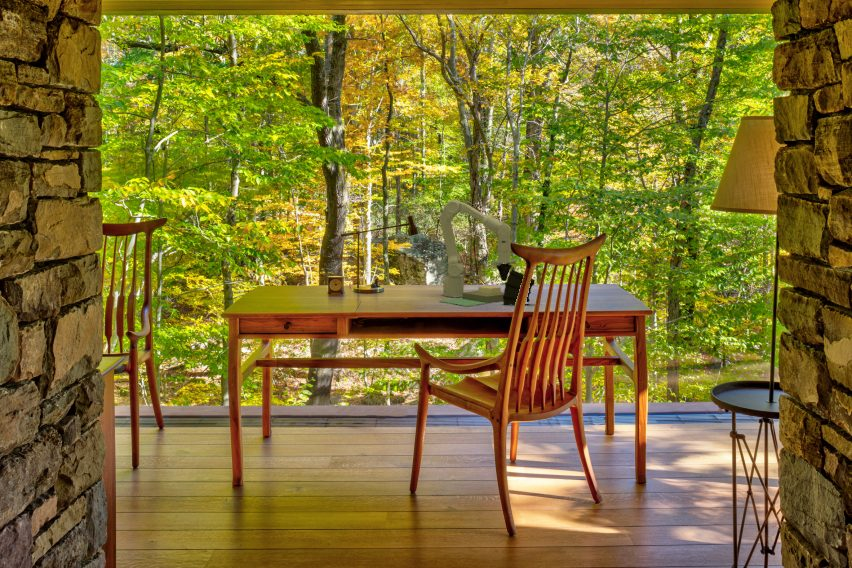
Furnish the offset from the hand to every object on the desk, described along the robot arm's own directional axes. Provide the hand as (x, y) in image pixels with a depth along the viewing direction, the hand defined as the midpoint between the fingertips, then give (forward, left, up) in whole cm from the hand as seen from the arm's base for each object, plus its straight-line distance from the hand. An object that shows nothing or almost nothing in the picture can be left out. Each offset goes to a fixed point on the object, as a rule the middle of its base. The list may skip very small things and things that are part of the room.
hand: (503, 280), depth 359 cm
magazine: (+19, -10, -8) cm, 23 cm away
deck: (0, -11, -8) cm, 13 cm away
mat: (0, -25, -8) cm, 26 cm away
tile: (0, -9, -3) cm, 10 cm away
